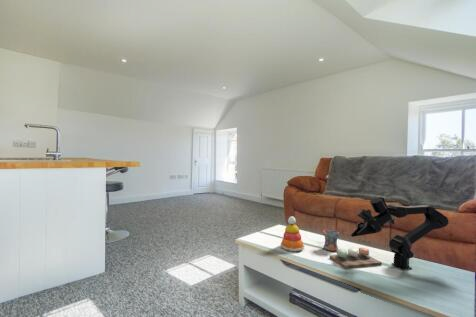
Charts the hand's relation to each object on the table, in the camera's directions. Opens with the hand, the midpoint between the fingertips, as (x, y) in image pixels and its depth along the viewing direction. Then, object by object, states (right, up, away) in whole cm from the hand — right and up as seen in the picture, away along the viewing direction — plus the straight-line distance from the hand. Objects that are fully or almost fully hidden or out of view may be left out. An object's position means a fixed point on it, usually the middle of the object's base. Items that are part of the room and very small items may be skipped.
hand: (354, 235), depth 119 cm
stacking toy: (-26, -16, +25) cm, 40 cm away
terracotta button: (+11, -14, +11) cm, 20 cm away
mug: (-1, -17, +26) cm, 31 cm away
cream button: (+4, -14, +9) cm, 17 cm away
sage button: (-3, -13, +7) cm, 16 cm away
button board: (+4, -17, +8) cm, 19 cm away
